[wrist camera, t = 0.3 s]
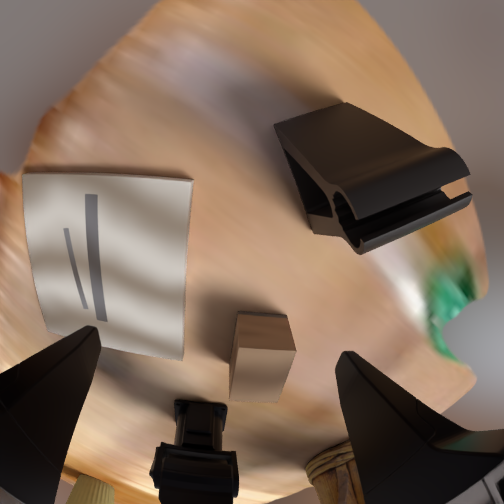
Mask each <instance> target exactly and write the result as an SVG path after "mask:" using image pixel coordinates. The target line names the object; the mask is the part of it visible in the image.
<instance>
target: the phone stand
mask: <svg viewBox="0 0 504 504" xmlns="http://www.w3.org/2000/svg"><path fill="white" fill-rule="evenodd" d="M274 128H275V130H276V133H277V135H278V138H279V140H280V143H281V145H282V148H283V150H284V153H285V156H286V158H287V161H288V164H289V166H290V169H291V172H292V174H293V177H294V179H295V182H296V185H297V188H298V191H299V194H300V196H301V199H302V202H303V205H304V208H305V211H306V214H307V217H308V220H309V222H310V225H311V228H312V231H313V233H314V234H319V235H328V236H338V237H342V238H343V239H344V240H346V241H347V243H348V244H349V245H350V246H351V248H352V249H353V250H354V251H355V252H356V253H357V254H359V255H362V254H364V253H366V252H369V251H371V250H373V249H376V248H378V247H380V246H383V245H385V244H387V243H389V242H392V241H394V240H396V239H399V238H401V237H403V236H405V235H408V234H410V233H412V232H414V231H416V230H419V229H421V228H423V227H425V226H427V225H429V224H432V223H434V222H436V221H438V220H440V219H442V218H444V217H446V216H449V215H451V214H453V213H455V212H457V211H459V210H461V209H463V208H465V207H467V206H468V205H469V203H470V201H471V199H472V194H471V193H470V192H469V191H468V192H466V193H464V194H461V195H459V196H457V197H455V198H453V199H449V198H448V197H447V196H446V194H445V193H444V192H443V191H441V186H444V185H446V184H449V183H451V182H454V181H456V180H458V179H461V178H463V177H466V176H468V175H470V172H469V170H468V168H467V166H466V164H465V162H464V161H463V159H462V158H461V157H460V156H459V155H458V154H457V153H456V152H455V151H453V150H452V149H450V148H446V147H442V148H433V147H429V146H427V145H425V144H423V143H421V142H420V141H418V140H416V139H415V138H413V137H412V136H410V135H408V134H407V133H405V132H403V131H401V130H400V129H398V128H396V127H394V126H393V125H391V124H389V123H387V122H385V121H384V120H382V119H380V118H378V117H376V116H374V115H372V114H370V113H368V112H366V111H364V110H362V109H360V108H358V107H356V106H354V105H352V104H350V103H348V102H346V103H342V104H338V105H335V106H331V107H327V108H324V109H321V110H317V111H314V112H311V113H307V114H304V115H301V116H298V117H295V118H292V119H289V120H286V121H283V122H280V123H277V124H274Z"/></svg>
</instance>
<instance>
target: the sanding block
mask: <svg viewBox="0 0 504 504" xmlns="http://www.w3.org/2000/svg"><path fill="white" fill-rule="evenodd" d="M295 354H296V347H295V343H294V340H293V336H292V332H291V329H290V325H289V321H288V318H287V315H277V314H266V313H255V312H244V311H238V314H237V320H236V326H235V333H234V339H233V345H232V352H231V358H230V364H229V401H241V402H265V403H278V400H279V397H280V395H281V392H282V390H283V387H284V384H285V382H286V379H287V376H288V373H289V371H290V368H291V365H292V362H293V360H294V357H295Z"/></svg>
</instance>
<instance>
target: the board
mask: <svg viewBox="0 0 504 504" xmlns="http://www.w3.org/2000/svg"><path fill="white" fill-rule="evenodd" d="M22 183H23V205H24V217H25V227H26V236H27V243H28V250H29V256H30V262H31V267H32V272H33V277H34V282H35V286H36V291H37V295H38V299H39V303H40V307H41V310H42V314H43V317H44V321H45V324H46V327H47V330H48V332H52V333H55V334H58V335H62V336H65V337H66V336H68V335H70V334H72V333H73V332H75V331H77V330H79V329H81V328H82V327H84V326H86V325H90V326H95V327H97V328H98V331H99V336H100V341H101V346H103V347H108V348H112V349H117V350H121V351H126V352H131V353H136V354H142V355H147V356H153V357H159V358H165V359H171V360H178V361H183V356H184V320H185V289H186V269H187V252H188V238H189V225H190V213H191V202H192V192H193V183H194V180H192V179H182V178H171V177H159V176H146V175H130V174H112V173H85V172H29V173H26V174H22Z"/></svg>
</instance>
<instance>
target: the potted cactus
mask: <svg viewBox="0 0 504 504" xmlns="http://www.w3.org/2000/svg"><path fill="white" fill-rule="evenodd" d="M66 504H114V488H113V487H112V486H111V485H109V484H107V483H105V482H103V481H101V480H98V479H96V478H93V477H90V476H87V475H83V474H80V475H79V477H78V479H77V481H76V483H75V485H74V488H73V489H72V492H71V494H70V496H69V498H68V500H67V502H66Z"/></svg>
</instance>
